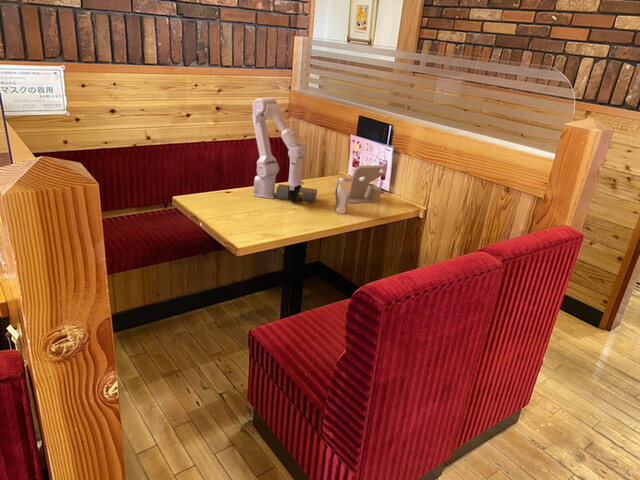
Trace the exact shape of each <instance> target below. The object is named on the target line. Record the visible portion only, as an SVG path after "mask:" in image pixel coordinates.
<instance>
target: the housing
mask: <svg viewBox="0 0 640 480" xmlns="http://www.w3.org/2000/svg"><path fill="white" fill-rule="evenodd" d="M288 185H289V184H288ZM288 185H287V184H281V183H280V184H278V185H277V187H276V189H275V190H276V191H275V193H276V195H275V199H279V200H286V201H287V200H289V198H290V192H289V190H288ZM299 192H300V193H301V194H302V201H301V202H302V203H307V204H315V202H316V201H317V194H318V189H317V188H316V189H315V188H311V187H310V188H308V187H302V186H301V188H300V190H299Z"/></svg>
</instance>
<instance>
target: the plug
mask: <svg viewBox="0 0 640 480" xmlns="http://www.w3.org/2000/svg"><path fill="white" fill-rule="evenodd" d="M300 195H301V194H300V192H298V196H297V199H296V202H293V201H291V200H290V203H292V204H297V201H298V197H300Z"/></svg>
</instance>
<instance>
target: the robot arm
mask: <svg viewBox="0 0 640 480" xmlns="http://www.w3.org/2000/svg"><path fill="white" fill-rule="evenodd" d="M251 106H252V122H253V128H254V129H253V130H254V134H255V137H256V138H255V139H256V144H257V150H258V153H259V154H258V155H259V158H258V159H257V161H256V174H257V175H255V177H254V181H253V195H252V196H253V197H258V198H264V199H265V198H266V199H274V198H276V191H275V190H276V189H275V188H276V177H277V174H279V171H280V166H279V163H278V162H277V159H276V157H275V156H274V155H273V154H272V150H271V148H272V147H271V144H270V139H269V133H268V127H267V122H266V120H267V118H268V117H269V118H271V119H272V120H273V122H274V123H275V125H276V126H277V128H278V130H279V131H280V132H281V134H280V135H281V136H280V138H281V139H282V142H283V143H284V144H285V146H286V148H287V149H288V151H287V154H288V157H289V173H288V181H287V183H288V190H289V192H290V197H289V198H290V202H291V201H293V202H296V199H297V200H298V197H299V196H298V192H299V190H300V188H301V187H302V185H304V184H305V182H304V181H303V180H302V179H303V168H304V157H305V156H306V155H307V147H306V145H305V144H303V143H301V142H300V140H299V139H298V137H297V136H296V132H295V131H294V130H293V129H290V128H289V126H288V125H287V122H286V120H285V119H284V117H283V115H282V113H281V111H280V104H278V102H277V100H276V98H274V97H273V96H269V97H263V98H259V97H258V98H255V100H254V101H253V103H252V105H251ZM297 196H298V197H297ZM296 203H297V202H296Z"/></svg>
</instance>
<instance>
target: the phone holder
mask: <svg viewBox="0 0 640 480" xmlns="http://www.w3.org/2000/svg"><path fill="white" fill-rule="evenodd" d="M381 170H382V171H381ZM386 172H387V168H386V166H385V165H382V164H381V165H378V164H377V165H357V166H356V167H355V168H354V171H353V174H352V177H351V178H350V179H351V180H352V188H351V194H350V198H349V201H348V204H352V205H353V204H354V205H355V204H370V203H381V195H382V188H381V187H379V186H378V185H377V184H375V183H371V182H374V181H375V180H377V179H379V178H380V177H382V176H384V175H385V174H386ZM362 177H364V179H362V180H360V178H362Z"/></svg>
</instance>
